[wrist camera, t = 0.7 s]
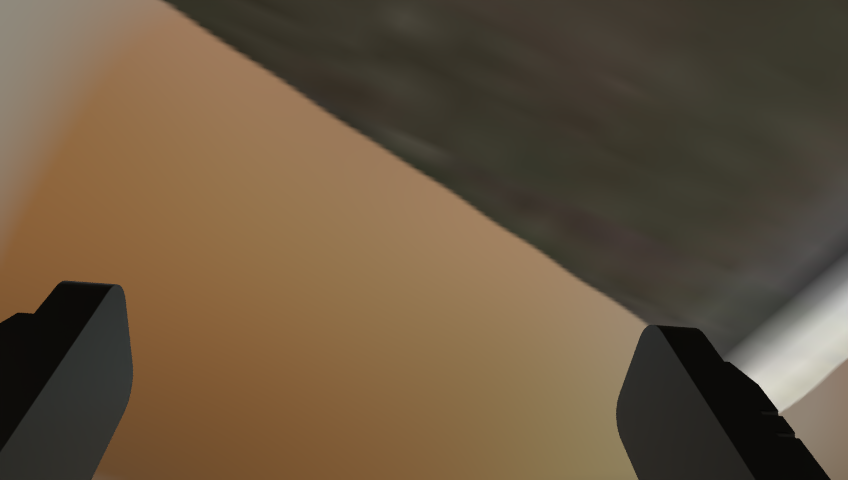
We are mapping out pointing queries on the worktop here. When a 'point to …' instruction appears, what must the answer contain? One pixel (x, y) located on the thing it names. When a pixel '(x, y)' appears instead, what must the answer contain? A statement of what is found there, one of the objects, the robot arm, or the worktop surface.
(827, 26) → the worktop surface
